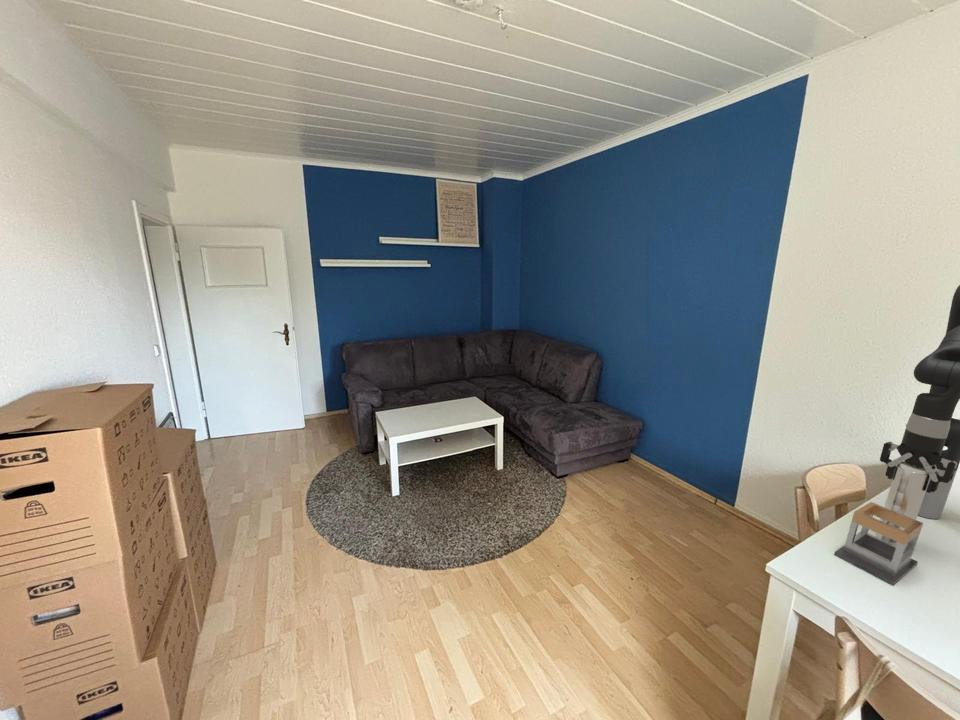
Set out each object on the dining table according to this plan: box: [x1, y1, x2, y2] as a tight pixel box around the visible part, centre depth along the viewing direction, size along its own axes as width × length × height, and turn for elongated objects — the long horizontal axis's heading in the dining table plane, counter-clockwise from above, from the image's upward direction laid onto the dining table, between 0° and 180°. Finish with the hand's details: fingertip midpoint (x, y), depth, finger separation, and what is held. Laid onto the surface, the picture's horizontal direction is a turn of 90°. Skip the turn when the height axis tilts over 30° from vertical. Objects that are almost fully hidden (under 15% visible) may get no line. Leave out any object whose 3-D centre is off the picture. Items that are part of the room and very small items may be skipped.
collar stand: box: [833, 501, 924, 586], centre depth 105 cm, size 16×12×14 cm
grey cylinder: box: [875, 461, 930, 550], centre depth 111 cm, size 6×6×25 cm
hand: (909, 484), depth 110 cm, fingers open, 7 cm apart
